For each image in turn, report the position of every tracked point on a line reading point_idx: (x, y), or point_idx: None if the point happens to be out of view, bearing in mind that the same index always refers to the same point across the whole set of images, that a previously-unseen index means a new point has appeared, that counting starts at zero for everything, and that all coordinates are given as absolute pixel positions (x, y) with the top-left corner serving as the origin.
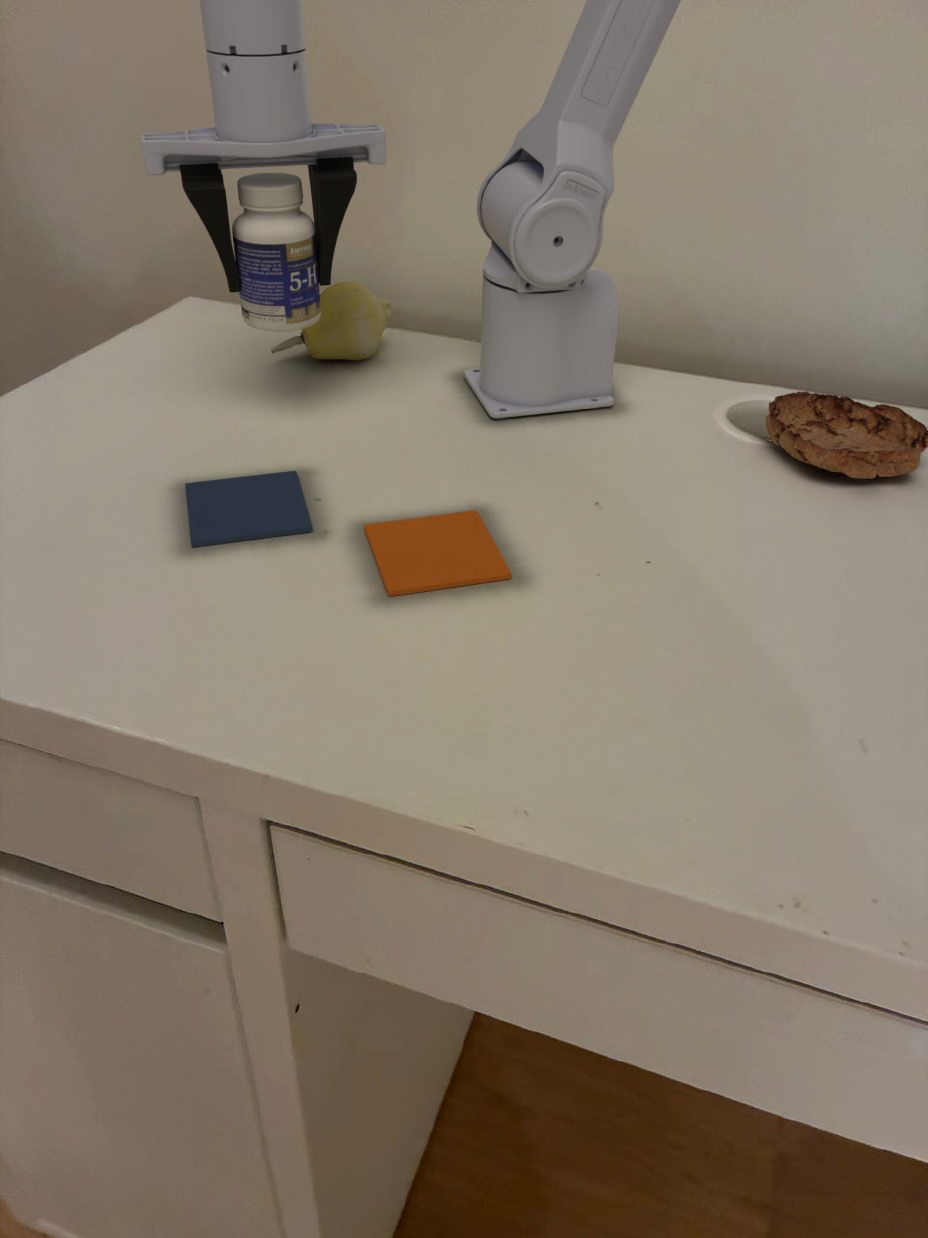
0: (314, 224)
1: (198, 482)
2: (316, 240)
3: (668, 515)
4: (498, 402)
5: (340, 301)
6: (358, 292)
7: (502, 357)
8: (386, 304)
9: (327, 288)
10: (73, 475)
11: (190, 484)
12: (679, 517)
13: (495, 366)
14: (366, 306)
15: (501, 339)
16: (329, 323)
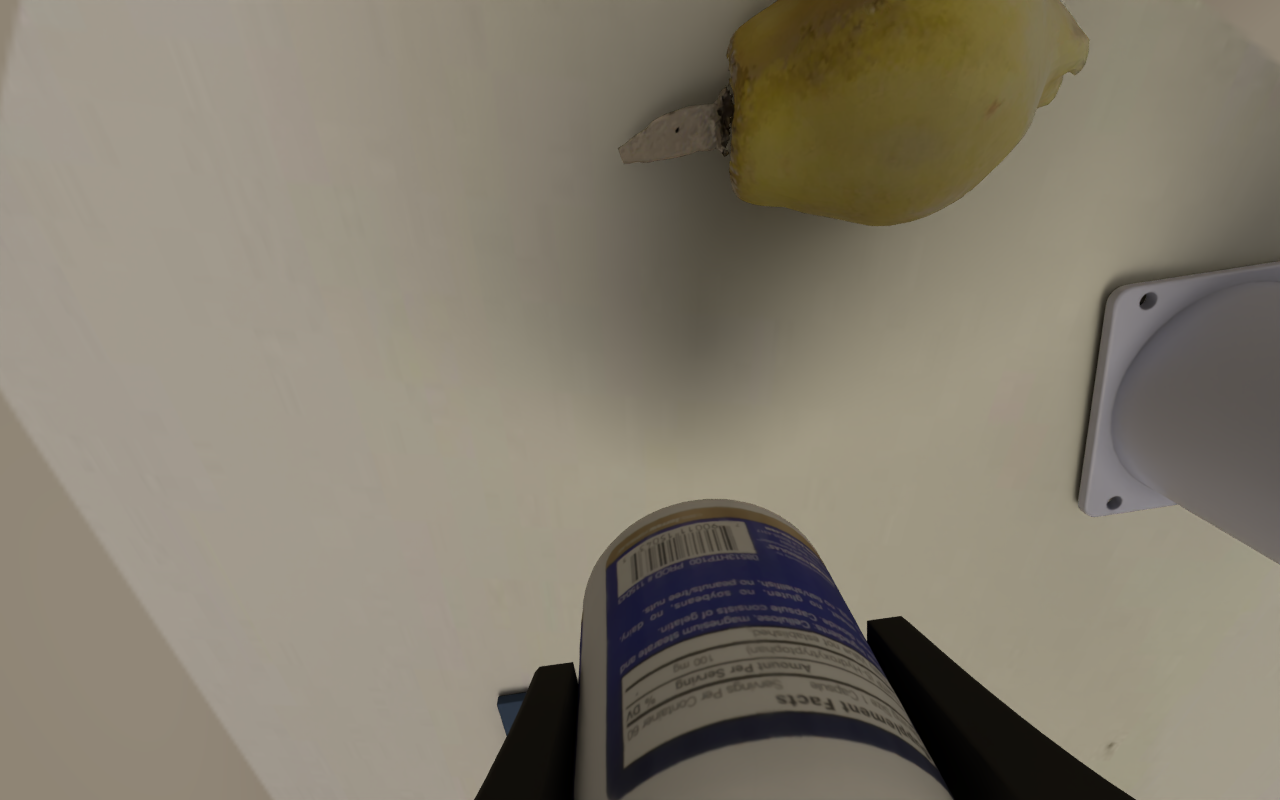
0: (988, 779)
1: (518, 703)
2: (947, 776)
3: (1187, 771)
4: (1120, 470)
5: (904, 160)
6: (993, 118)
7: (1223, 525)
8: (1066, 72)
9: (880, 40)
10: (288, 652)
11: (506, 707)
12: (1198, 775)
13: (1187, 497)
14: (986, 170)
15: (1267, 549)
16: (830, 204)
